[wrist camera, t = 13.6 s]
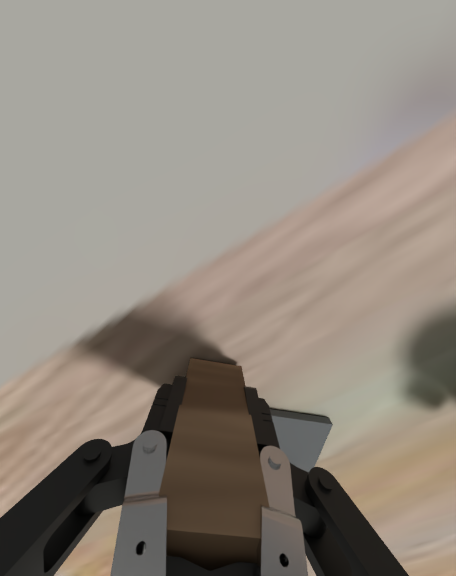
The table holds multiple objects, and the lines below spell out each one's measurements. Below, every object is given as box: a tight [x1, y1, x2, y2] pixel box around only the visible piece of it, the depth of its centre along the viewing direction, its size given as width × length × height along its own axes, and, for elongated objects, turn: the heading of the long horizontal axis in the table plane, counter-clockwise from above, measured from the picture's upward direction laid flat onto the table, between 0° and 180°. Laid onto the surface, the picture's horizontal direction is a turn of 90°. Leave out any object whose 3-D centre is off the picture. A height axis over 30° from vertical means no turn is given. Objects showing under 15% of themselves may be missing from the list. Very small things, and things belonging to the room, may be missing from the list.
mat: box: [270, 409, 333, 472], centre depth 18 cm, size 11×9×1 cm
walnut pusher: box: [159, 358, 270, 571], centre depth 11 cm, size 4×4×9 cm
